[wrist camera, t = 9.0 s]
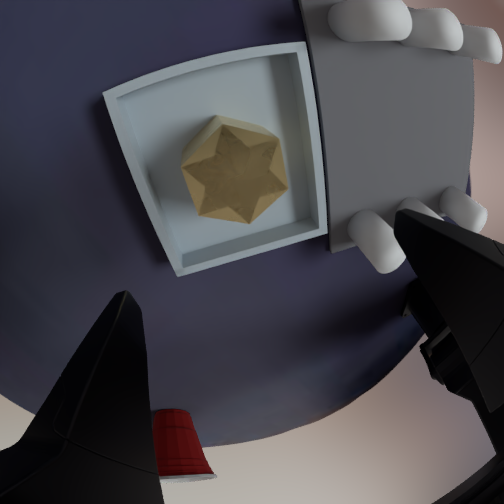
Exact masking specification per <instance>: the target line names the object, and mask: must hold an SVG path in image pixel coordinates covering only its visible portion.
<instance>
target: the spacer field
mask: <svg viewBox="0 0 504 504" xmlns="http://www.w3.org/2000/svg"><path fill="white" fill-rule="evenodd" d="M298 2H299V6H300V10H301V14H302V19H303V23H304V28H305V32H306V37H307V42H308V47H309V52H310V58H311V63H312V69H313V75H314V81H315V88H316V94H317V101H318V108H319V116H320V124H321V132H322V141H323V151H324V162H325V173H326V186H327V201H328V219H329V244H330V252H331V253H335V252H338V251H341V250H345V249H348V248H351V247H354V246H358V247H359V248H360V250H361V251H362V252H363V253H364V255H365V256H366V257H367V258H368V259H369V261H370V262H371V263H372V264H373V266H374V267H375V268H376V270H377V271H378V272H380V273H389V272H392V271H393V270H395V269H396V268H398V267H399V266H400V265H401V264H402V262H403V261H404V260H405V258H406V256H405V254H404V252H403V251H402V249H401V247H400V246H399V244H398V242H397V240H396V239H395V237H394V233H393V229H394V220H395V213H396V212H397V211H398V210H401V209H404V208H407V209H411V210H414V211H417V212H420V213H423V214H426V215H429V216H432V217H435V218H438V219H440V220H443V219H442V218H441V217H443V216H446V215H447V216H448V217H450V218H451V219H452V220H453V221H455V222H456V223H457V224H458V225H459V226H461V227H462V228H465V229H467V230H470V231H473V232H475V233H479V232H480V231H481V229H482V228H483V226H484V224H485V222H486V219H487V210H486V209H485V208H484V207H483V206H481V205H480V204H479V203H478V202H476V201H475V200H473V199H472V198H471V197H469V196H468V195H466V194H465V192H466V186H467V180H468V174H469V167H470V159H471V150H472V139H473V125H474V73H473V58H474V59H479V60H483V61H487V62H491V63H495V64H498V63H500V61H501V59H502V46H501V42H500V40H499V37H498V35H497V34H496V32H495V31H494V30H493V29H491V28H485V27H478V26H469V25H464V24H461V23H459V21H458V19H457V18H456V16H455V15H454V14H453V13H452V12H451V11H449V10H448V9H445V8H428V9H414V8H409V7H406V5H405V4H404V3H403V2H402V0H298ZM443 221H444V220H443Z"/></svg>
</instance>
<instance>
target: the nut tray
mask: <svg viewBox="0 0 504 504" xmlns="http://www.w3.org/2000/svg"><path fill="white" fill-rule="evenodd" d="M103 96H104V99H105V102H106V105H107V108H108V111H109V114H110V117H111V120H112V123H113V126H114V129H115V132H116V135H117V137H118V140H119V143H120V146H121V148H122V151H123V154H124V156H125V159H126V162H127V164H128V167H129V169H130V172H131V174H132V177H133V179H134V182H135V184H136V187H137V189H138V192H139V194H140V196H141V199H142V201H143V203H144V206H145V208H146V210H147V213H148V215H149V217H150V220H151V222H152V224H153V226H154V229H155V231H156V233H157V235H158V237H159V239H160V242H161V244H162V246H163V248H164V250H165V252H166V254H167V256H168V259H169V261H170V263H171V265H172V267H173V269H174V271H175V273H176V275H177V277H179V276H183V275H186V274H190V273H193V272H197V271H200V270H204V269H207V268H210V267H214V266H217V265H221V264H224V263H228V262H231V261H234V260H238V259H241V258H245V257H248V256H252V255H255V254H258V253H262V252H265V251H269V250H272V249H276V248H279V247H282V246H286V245H289V244H293V243H296V242H299V241H303V240H306V239H310V238H313V237H317V236H320V235H323V234H327V213H326V197H325V184H324V172H323V161H322V151H321V141H320V133H319V124H318V116H317V109H316V102H315V95H314V88H313V82H312V76H311V70H310V64H309V59H308V53H307V48H306V43H305V42H293V43H282V44H273V45H265V46H258V47H252V48H246V49H240V50H235V51H229V52H225V53H220V54H215V55H211V56H207V57H203V58H199V59H195V60H191V61H188V62H184V63H181V64H177V65H174V66H171V67H168V68H164V69H161V70H158V71H156V72H153V73H150V74H147V75H144V76H142V77H139V78H136V79H134V80H131V81H129V82H126V83H124V84H121V85H119V86H117V87H114V88H112V89H110V90H108V91H105V92H103ZM215 115H220V116H224V117H229V118H233V119H237V120H241V121H245V122H249V123H253V124H256V125H260V126H263V127H264V128H266V129H267V130H268V131H270V132H271V133H272V134H274V135H275V136H276V137H278V138H279V139H280V144H281V149H282V155H283V160H284V166H285V171H286V177H287V182H288V188H289V189H288V190H287V191H286V192H285V193H284V194H283V195H282V196H280V197H279V198H278V199H277V200H276V201H275V202H274V203H273V204H272V205H270V206H269V207H268V208H267V209H266V210H265V211H264V212H263V213H262V214H261V215H259V216H258V217H257V218H256V219H255V220H254V221H253V222H252V223H251V224H245V223H239V222H233V221H227V220H221V219H214V218H208V217H202V216H198V213H197V211H196V208H195V205H194V203H193V200H192V197H191V194H190V192H189V189H188V186H187V183H186V181H185V178H184V175H183V172H182V169H181V158H182V149H183V148H184V147H185V146H186V145H187V144H188V143H189V142H190V140H191V139H192V138H193V137H194V136H195V135H196V134H197V133H198V132H199V131H200V130H201V129H202V128H203V127H204V126H205V125H206V124H207V123H208V122H209V121H210V120H211V119H212V118H213V117H214V116H215Z"/></svg>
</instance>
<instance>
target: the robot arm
mask: <svg viewBox="0 0 504 504" xmlns="http://www.w3.org/2000/svg"><path fill="white" fill-rule="evenodd" d="M393 233H394V237H395V239H396V240H397V242H398V244H399V246H400V247H401V249H402V251H403V252H404V254H405V256H406V258H407V259H408V261H409V263H410V265H411V267H412V268H413V270H414V272H415V273H416V275H417V276H418V278H419V280H417V281H415V282H413V283H411V284H410V286H409V290H408V293H407V297H406V300H405V303H404V307H403V310H402V313H401V316H402V317H403V318H404V317H406V316H409V315H411V314H412V315H413V316H414V318H415V319H416V321H417V322H418V324H419V325H420V326H421V328H422V329H423V331H424V332H425V334H426V335H427V337H428V339H427V340H426V341H425V342H424V343H422V344H421V345H420V346H419V347H420V349H421V350H420V352H421V354H422V355H423V357H424V359H425V361H426V363H427V366H428V369H429V372H430V375H431V377H432V379H434V380H437V381H438V382H439V383H440V384H442V385H444V384H445V386H446V388H447V390H448V391H450V392H452V393H454V394H456V395H458V396H461V397H463V398H465V399H468V400H470V401H471V402H472V403H473V405H474V407H475V409H476V411H477V413H478V415H479V417H480V419H481V421H482V423H483V425H484V427H485V429H486V431H487V433H488V436H489V438H490V440H491V442H492V444H493V447H494V449H495V452H496V455H495V456H494V457H493V458H492V459H491V460H490V461H489V462H487V464H485V465H484V466H483V467H482V468H481V469H479V470H478V471H477V472H476V473H474V474H473V475H472V476H471V477H469V478H468V479H467V480H465V481H464V482H463V483H461V484H460V485H459V486H457V487H456V488H455V489H453V490H452V491H450V492H449V493H447V494H446V495H444V496H443V497H442V498H440V499H438V500H437V501H435V502H434V503H432V504H504V244H502V243H499V242H497V241H494V240H492V239H490V238H487V237H485V236H482V235H480V234H478V233H475V232H473V231H470V230H467V229H465V228H462V227H460V226H457V225H454V224H451V223H449V222H446V221H443V220H440V219H438V218H435V217H432V216H429V215H426V214H423V213H420V212H417V211H414V210H411V209H407V208H404V209H401V210H398V211H397V212H396V213H395V220H394V229H393ZM0 504H164V499H163V495H162V489H161V485H160V479H159V475H158V468H157V462H156V455H155V448H154V440H153V432H152V423H151V412H150V401H149V386H148V367H147V351H146V344H145V336H144V328H143V319H142V312H141V309H140V307H139V305H138V304H137V302H136V301H135V299H134V298H133V296H132V295H131V293H130V292H129V291H126V290H125V291H122V292H118V293H116V294H115V295H114V297H113V298H112V299H111V301H110V302H109V303H108V305H107V306H106V308H105V309H104V310H103V312H102V313H101V315H100V316H99V317H98V319H97V320H96V322H95V323H94V325H93V326H92V328H91V329H90V330H89V332H88V333H87V335H86V336H85V338H84V339H83V341H82V342H81V344H80V345H79V347H78V348H77V350H76V352H75V353H74V355H73V356H72V358H71V359H70V361H69V362H68V364H67V366H66V367H65V369H64V371H63V372H62V374H61V376H60V377H59V379H58V380H57V382H56V384H55V385H54V387H53V389H52V390H51V392H50V394H49V395H48V397H47V399H46V400H45V402H44V403H43V405H42V406H41V408H40V409H39V411H38V412H37V414H36V415H35V417H34V419H33V420H32V422H31V423H30V425H29V426H28V428H27V430H26V431H25V433H24V434H23V436H22V437H21V439H20V440H19V441H18V442H17V443H15V444H14V445H12V446H11V447H9V448H6V449H4V450H1V451H0Z"/></svg>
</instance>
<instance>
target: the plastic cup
mask: <svg viewBox="0 0 504 504" xmlns="http://www.w3.org/2000/svg"><path fill="white" fill-rule="evenodd" d="M152 432H153V440H154V448H155V455H156V462H157V468H158V475H159V479H160V483H176V482H177V483H178V482H191V481H200V480H207V479H212V478H217V475H216V474H214V472H213V471H212V470H211V468H210V467H209V464H208V462H207V460H206V458H205V456H204V453H203V450H202V447H201V444H200V442H199V439H198V436H197V433H196V431H195V429H194V425H193V422H192V419H191V417H190V414H189V413H188V412H186V411H183V410H178V409H165V410H160V411H158V412H156V414H155V417H154V421H153V430H152Z"/></svg>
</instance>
